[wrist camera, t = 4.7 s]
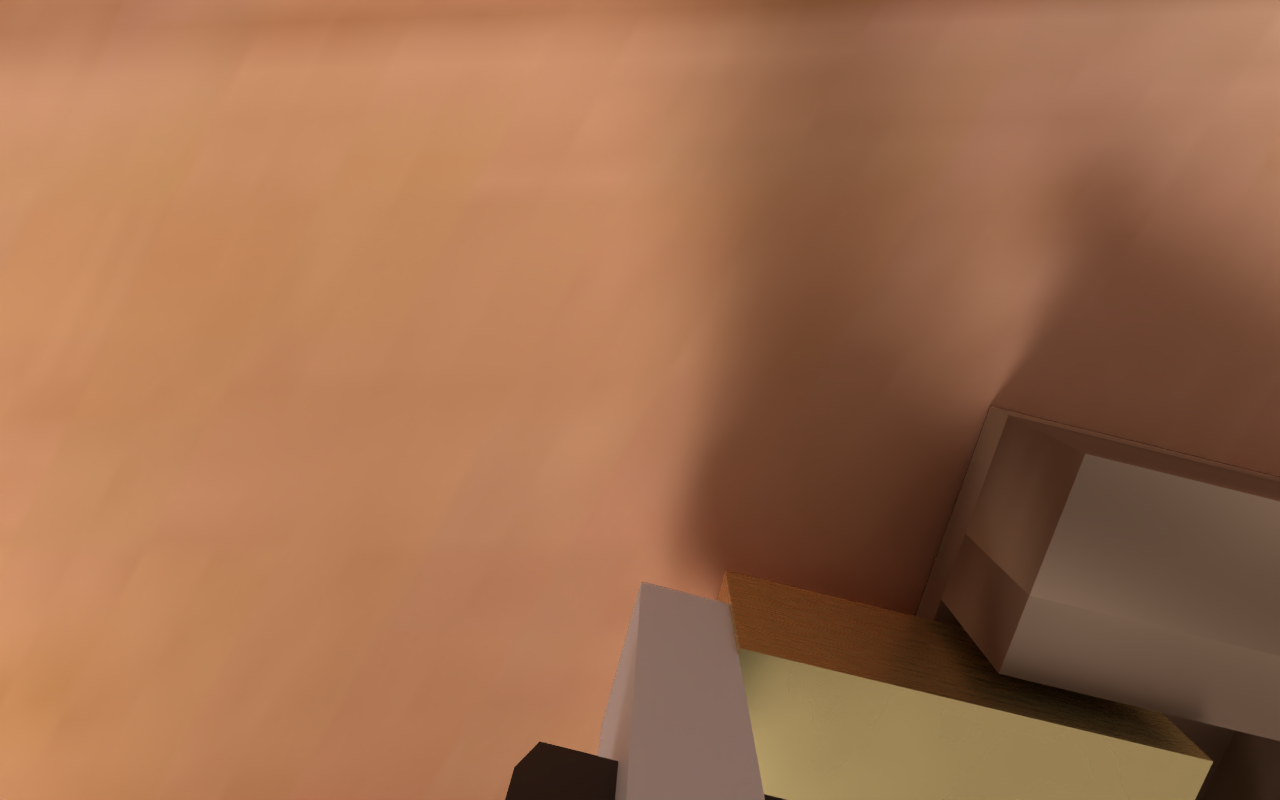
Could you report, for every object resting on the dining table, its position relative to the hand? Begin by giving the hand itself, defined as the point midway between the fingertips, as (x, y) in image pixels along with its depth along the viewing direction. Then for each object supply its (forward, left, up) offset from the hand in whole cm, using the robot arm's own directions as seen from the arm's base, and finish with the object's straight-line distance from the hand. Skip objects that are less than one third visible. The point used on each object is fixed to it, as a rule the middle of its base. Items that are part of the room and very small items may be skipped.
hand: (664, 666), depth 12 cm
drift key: (0, +4, -1) cm, 4 cm away
